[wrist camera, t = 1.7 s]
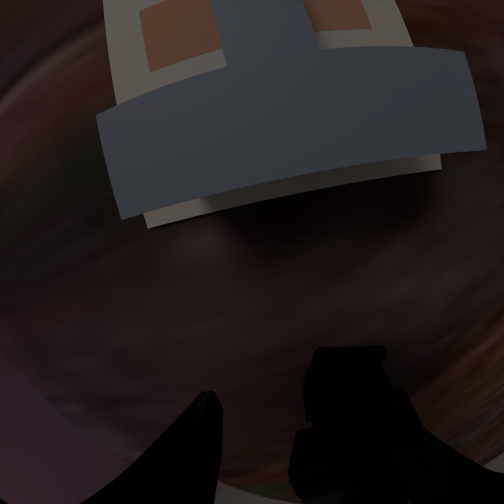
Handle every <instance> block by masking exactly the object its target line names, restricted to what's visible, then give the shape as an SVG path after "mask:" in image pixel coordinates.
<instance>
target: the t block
mask: <svg viewBox="0 0 504 504" xmlns="http://www.w3.org/2000/svg"><path fill="white" fill-rule="evenodd" d="M209 1H210V5H211V8H212V12H213V16H214V19H215V23H216V27H217V30H218V34H219V38H220V41H221V45H222V49H223V53H224V56H225V60H226V64H227V67H223V68H219V69H216V70H212V71H209V72H205V73H202V74H199V75H195V76H192V77H189V78H186V79H183V80H180V81H177V82H174V83H171V84H168V85H166V86H163V87H160V88H158V89H155V90H152V91H150V92H147V93H145V94H142V95H140V96H137V97H135V98H133V99H130V100H128V101H126V102H123V103H121V104H119V105H117V106H115V107H112V108H110V109H108V110H106V111H104V112H102V113H100V114H98V115H96V119H97V124H98V129H99V134H100V139H101V143H102V148H103V152H104V156H105V161H106V165H107V169H108V173H109V177H110V181H111V184H112V188H113V192H114V196H115V199H116V203H117V206H118V209H119V213H120V216H121V219H122V220H123V219H126V218H129V217H133V216H136V215H139V214H143V213H146V212H150V211H153V210H157V209H160V208H164V207H167V206H171V205H174V204H178V203H182V202H186V201H189V200H193V199H197V198H201V197H205V196H209V195H213V194H217V193H221V192H225V191H229V190H233V189H238V188H242V187H246V186H251V185H255V184H259V183H264V182H269V181H273V180H278V179H283V178H288V177H293V176H298V175H303V174H308V173H313V172H318V171H324V170H329V169H335V168H341V167H347V166H353V165H359V164H365V163H372V162H378V161H385V160H392V159H400V158H407V157H415V156H424V155H433V154H442V153H452V152H463V151H476V150H487V149H486V142H485V135H484V129H483V124H482V118H481V113H480V108H479V104H478V99H477V95H476V91H475V87H474V83H473V80H472V76H471V73H470V69H469V66H468V63H467V60H466V57H465V54H464V52H461V51H453V50H445V49H436V48H423V47H405V46H363V47H344V48H331V49H321V50H320V47H319V44H318V41H317V38H316V35H315V33H314V30H313V27H312V24H311V21H310V19H309V16H308V13H307V11H306V8H305V5H304V3H303V0H209Z"/></svg>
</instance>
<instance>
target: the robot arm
mask: <svg viewBox="0 0 504 504" xmlns="http://www.w3.org/2000/svg"><path fill="white" fill-rule="evenodd" d="M380 351H382V352H381V353H379V352H380ZM319 353H322V354H320V355H319ZM385 355H386V349H385V347H383V346H374V347H328V348H322V347H321V348H317V349H316V350H315V351H314V356H313V361H312V366H311V369H308V370H307V372H306V377H305V382H304V387H303V394H304V404H305V414H306V421H307V422H308V423H313V425H314V426H313V427H310V428H308V429H305V430H304V429H301V430H298V431H296V435H295V440H294V445H293V449H292V454H291V459H290V464H289V468H288V475H289V477H290V478H289V483H290V484H291V485H292V487H293V490H294V491H295V493H296V495H297V496H298V498H300V499H301V500H302V502H303V504H504V473H499V472H494V471H491V470H489V469H486V468H484V467H482V466H481V465H479V464H477V463H476V462H474V461H472V460H470V459H469V458H467V457H465V456H464V455H462V454H460V453H459V452H457V451H455V450H454V449H452V448H451V447H449V446H448V445H446V444H444V443H443V442H442V441H440V440H439V439H438V438H436V437H435V436H434V435H433V434H431V433H430V432H429V431H428V430H427V429H426V428H423V426H422V424H421V422H420V420H419V417H418V415H417V413H416V411H415V409H414V407H413V405H412V403H411V401H410V399H409V397H408V395H407V394H406V392H405V390H404V388H403V386H402V387H400V388H398V389H396V390H397V391H395V392H393V390H392V387H391V385H390V383H389V380H388V378H387V376H386V374H385V371H384V369H383V367H382V364H383V361H384V358H385ZM222 433H223V409H222V406H221V404H220V402H219V399H218V397H217V395H216V393H215V392H214V391H207V392H202V393H200V394H199V396H198V397H197V398H196V399H195V400H194V401H193V402H192V403H191V404H190V405H189V406H188V407H187V409H186V410H185V411H184V412H183V413H182V414H181V415H180V416H179V417H178V418H177V419H176V420H175V421H174V422H173V423H172V424H171V425H170V426H169V427H168V429H167V430H166V431H165V432H164V433H163V434H162V435H161V436H160V437H159V438H158V439H157V440H156V441H155V442H154V443H153V444H152V445H151V446H150V447H149V448H148V449H147V450H146V451H145V452H144V453H143V454H142V455H141V456H140V457H139V459H137V460H136V461H135V462H134V463H133V464H131V465H130V466H129V467H128V468H127V469H126V470H125V471H124V472H123V473H122V474H120V475H119V476H118V477H117V478H115V479H114V480H113V481H112V482H110V483H109V484H108V485H106V486H105V487H104V488H102V489H101V490H100V491H98V492H97V493H95V494H94V495H93V496H91V497H90V498H88V499H87V500H85V501H84V502H82V503H79V504H214V500H215V492H216V487H217V480H218V474H219V468H220V461H221V454H222ZM0 504H7V503H6V502H5V501H3V500H2V499H0Z"/></svg>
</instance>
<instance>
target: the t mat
mask: <svg viewBox="0 0 504 504" xmlns="http://www.w3.org/2000/svg"><path fill="white" fill-rule="evenodd" d="M303 3H304V5H305V8H306V11H307V13H308V16H309V19H310V21H311V24H312V27H313V30H314V33H315V35H316V38H317V41H318V44H319V47H320V50H321V49H331V48H344V47H363V46H405V47H413V44H412V42H411V39H410V36H409V34H408V31H407V28H406V26H405V23H404V21H403V19H402V16H401V14H400V12H399V9H398V7H397V5H396V3H395V0H303ZM103 5H104V17H105V27H106V36H107V45H108V53H109V60H110V67H111V73H112V79H113V85H114V91H115V97H116V102H117V105H119V104H121V103H123V102H126V101H128V100H130V99H133V98H135V97H137V96H140V95H142V94H145V93H147V92H150V91H152V90H155V89H158V88H160V87H163V86H166V85H168V84H171V83H174V82H177V81H180V80H183V79H186V78H189V77H192V76H195V75H199V74H202V73H205V72H209V71H212V70H216V69H219V68H223V67H227V64H226V60H225V56H224V53H223V49H222V45H221V41H220V38H219V34H218V30H217V27H216V23H215V19H214V16H213V12H212V8H211V5H210V1H209V0H103ZM439 169H442V167H441V159H440V154H433V155H424V156H415V157H407V158H400V159H392V160H385V161H378V162H372V163H365V164H359V165H353V166H347V167H341V168H335V169H329V170H324V171H318V172H313V173H308V174H303V175H298V176H293V177H288V178H283V179H278V180H273V181H269V182H264V183H259V184H255V185H251V186H246V187H242V188H238V189H233V190H229V191H225V192H221V193H217V194H213V195H209V196H205V197H201V198H197V199H193V200H189V201H186V202H182V203H178V204H174V205H171V206H167V207H164V208H160V209H157V210H153V211H150V212H146V213H143V214H144V217H145V220H146V224H147V227H148V228H151V227H155V226H159V225H163V224H167V223H170V222H174V221H178V220H182V219H186V218H190V217H194V216H198V215H202V214H206V213H211V212H215V211H219V210H223V209H228V208H232V207H236V206H241V205H245V204H249V203H254V202H259V201H263V200H268V199H272V198H277V197H282V196H287V195H292V194H297V193H302V192H307V191H312V190H317V189H322V188H327V187H333V186H338V185H344V184H349V183H355V182H361V181H366V180H372V179H378V178H384V177H391V176H397V175H404V174H410V173H417V172H424V171H431V170H439Z"/></svg>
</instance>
